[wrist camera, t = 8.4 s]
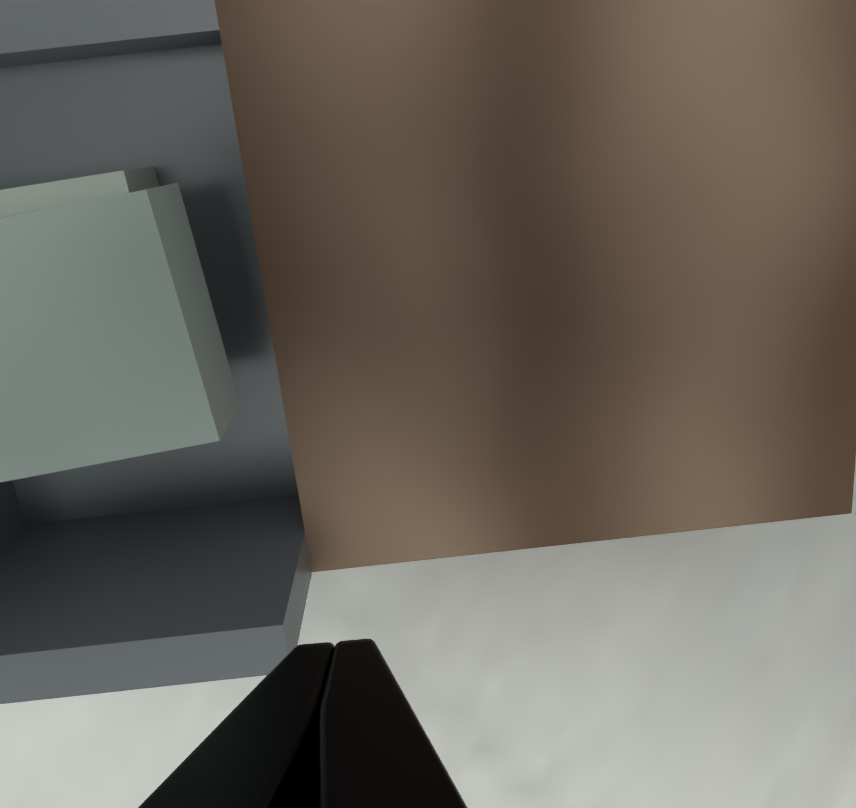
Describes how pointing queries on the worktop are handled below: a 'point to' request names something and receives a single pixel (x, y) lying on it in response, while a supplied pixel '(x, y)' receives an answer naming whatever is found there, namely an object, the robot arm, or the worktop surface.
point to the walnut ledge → (552, 264)
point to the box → (169, 470)
